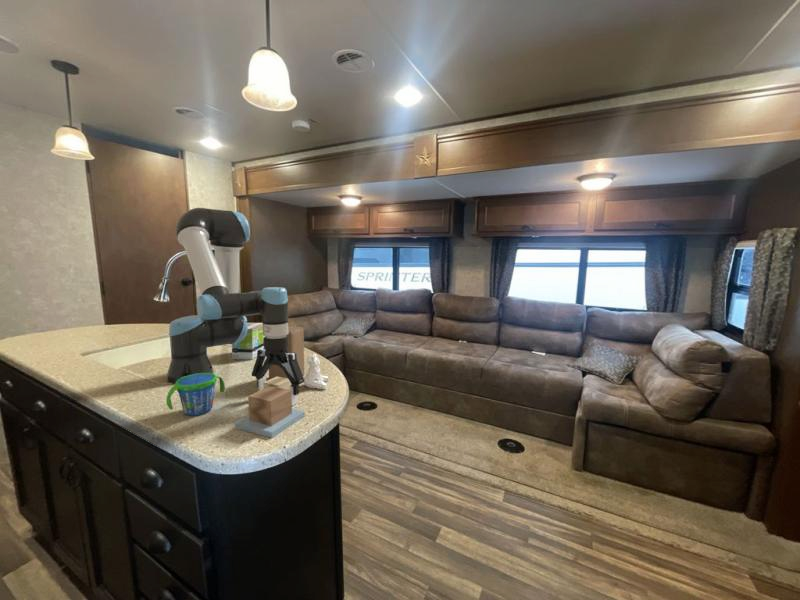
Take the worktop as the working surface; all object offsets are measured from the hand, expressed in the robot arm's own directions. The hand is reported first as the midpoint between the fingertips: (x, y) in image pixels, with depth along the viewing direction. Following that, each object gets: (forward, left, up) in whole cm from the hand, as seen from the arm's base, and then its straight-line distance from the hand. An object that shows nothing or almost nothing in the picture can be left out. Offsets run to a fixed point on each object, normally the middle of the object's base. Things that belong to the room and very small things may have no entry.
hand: (278, 400), depth 107 cm
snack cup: (-17, -15, 0) cm, 23 cm away
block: (-11, +17, 0) cm, 20 cm away
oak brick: (0, 0, 0) cm, 0 cm away
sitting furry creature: (+3, +16, 0) cm, 16 cm away
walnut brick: (+8, -11, +1) cm, 14 cm away
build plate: (+8, -11, 0) cm, 14 cm away
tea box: (-49, +35, 0) cm, 60 cm away
